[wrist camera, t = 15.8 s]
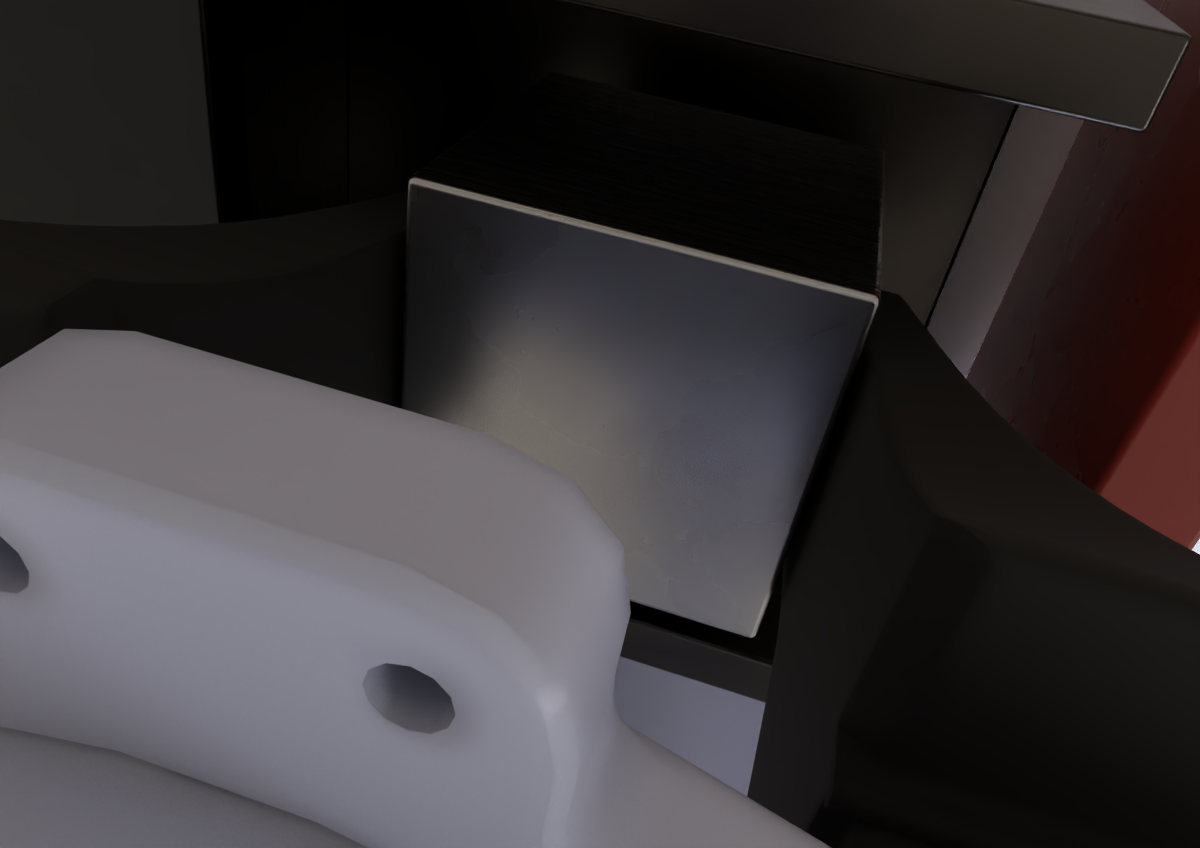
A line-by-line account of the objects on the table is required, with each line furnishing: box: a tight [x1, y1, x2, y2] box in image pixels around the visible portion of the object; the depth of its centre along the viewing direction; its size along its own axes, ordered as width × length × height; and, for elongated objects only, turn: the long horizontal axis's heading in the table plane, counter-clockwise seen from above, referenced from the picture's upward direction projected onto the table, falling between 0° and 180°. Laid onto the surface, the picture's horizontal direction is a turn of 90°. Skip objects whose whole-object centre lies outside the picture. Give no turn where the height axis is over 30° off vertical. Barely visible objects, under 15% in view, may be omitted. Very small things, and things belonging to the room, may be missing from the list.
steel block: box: [401, 72, 885, 638], centre depth 11 cm, size 4×4×4 cm
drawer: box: [238, 0, 1200, 703], centre depth 13 cm, size 19×10×7 cm, turn 81°
